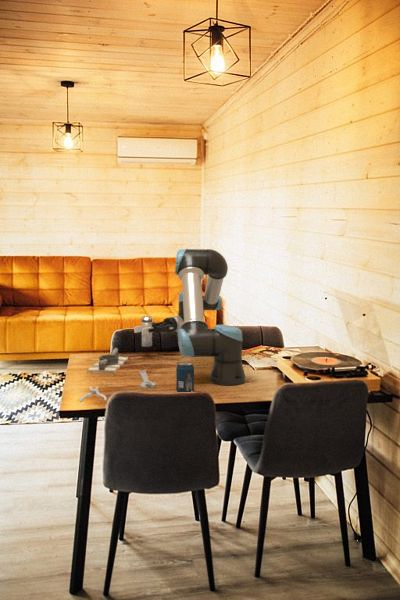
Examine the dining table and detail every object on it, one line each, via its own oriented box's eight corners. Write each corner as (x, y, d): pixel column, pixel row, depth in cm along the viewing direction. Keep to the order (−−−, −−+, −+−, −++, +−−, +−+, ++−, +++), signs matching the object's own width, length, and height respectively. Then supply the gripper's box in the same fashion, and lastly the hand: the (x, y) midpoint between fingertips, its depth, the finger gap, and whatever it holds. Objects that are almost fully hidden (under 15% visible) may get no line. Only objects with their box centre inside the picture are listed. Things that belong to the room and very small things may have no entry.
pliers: (79, 398, 214) (81, 386, 228) (79, 402, 214) (81, 390, 229) (106, 397, 215) (106, 385, 230) (106, 401, 216) (106, 389, 230)
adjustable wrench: (138, 373, 254) (138, 369, 254) (153, 373, 255) (153, 369, 255) (140, 390, 230) (140, 386, 230) (156, 390, 231) (156, 385, 230)
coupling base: (113, 373, 252) (113, 361, 251) (87, 372, 254) (87, 360, 253) (128, 358, 278) (128, 348, 277) (104, 357, 279) (104, 347, 278)
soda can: (181, 389, 231) (182, 360, 229) (197, 392, 227) (197, 362, 226) (172, 394, 225) (173, 364, 223) (188, 396, 221) (188, 366, 220)
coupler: (150, 346, 277) (150, 318, 275) (140, 346, 278) (140, 317, 276) (153, 344, 282) (153, 316, 280) (142, 344, 283) (142, 315, 281)
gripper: (185, 334, 287) (151, 341, 269) (160, 329, 298) (126, 335, 281) (185, 319, 286) (151, 325, 268) (160, 315, 297) (126, 320, 280)
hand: (138, 330), depth 275 cm, fingers closed on coupler, 5 cm apart
